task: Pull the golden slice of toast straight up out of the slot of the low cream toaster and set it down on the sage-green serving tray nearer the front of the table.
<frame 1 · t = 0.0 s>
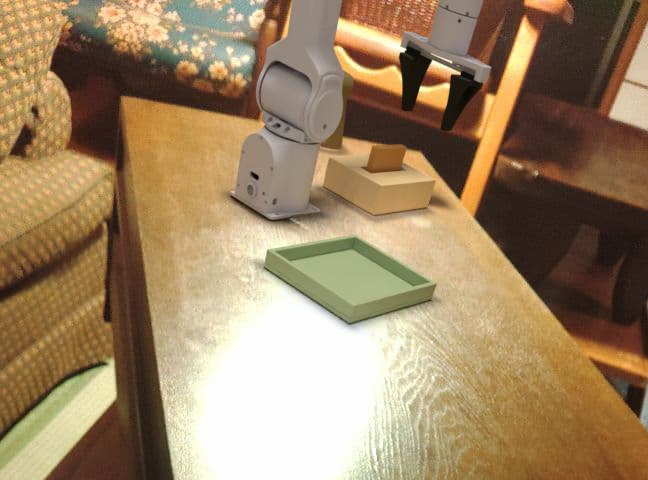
hand: (425, 120, 110), 10 cm above the table, tool pointing down, fingers open, 7 cm apart
toaster: (375, 200, 109), on the table
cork: (323, 146, 123), on the table
toast: (376, 196, 109), resting on toaster
tray: (350, 283, 85), on the table
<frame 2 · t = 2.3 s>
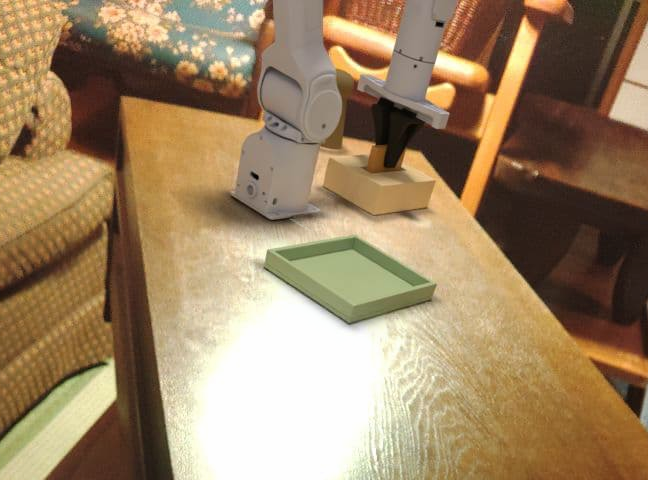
hand: (384, 164, 106), 5 cm above the table, tool pointing down, fingers closed on toast, 1 cm apart
toast: (376, 196, 109), point 1 cm above the table, touching gripper, toaster
everything else where it was.
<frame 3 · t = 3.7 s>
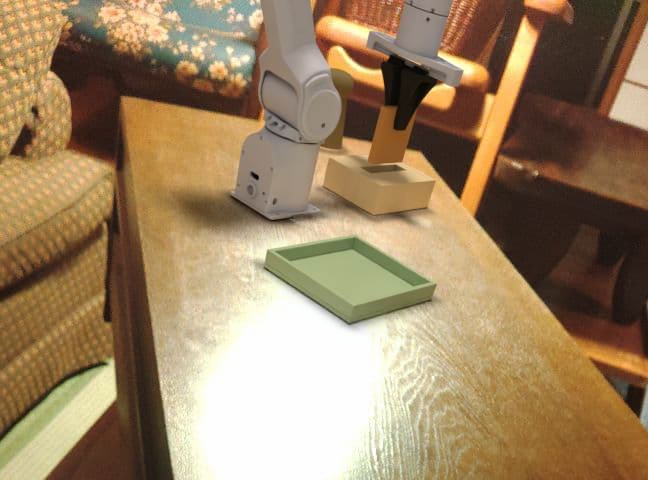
hand: (394, 127, 101), 10 cm above the table, tool pointing down, fingers closed on toast
toast: (385, 162, 104), point 6 cm above the table, touching gripper
everything else where it was.
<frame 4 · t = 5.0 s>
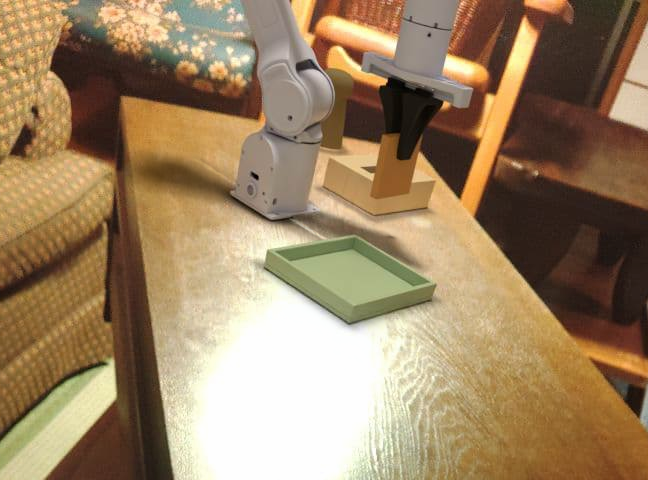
hand: (398, 156, 90), 10 cm above the table, tool pointing down, fingers closed on toast
toast: (389, 195, 93), point 6 cm above the table, touching gripper
everything else where it was.
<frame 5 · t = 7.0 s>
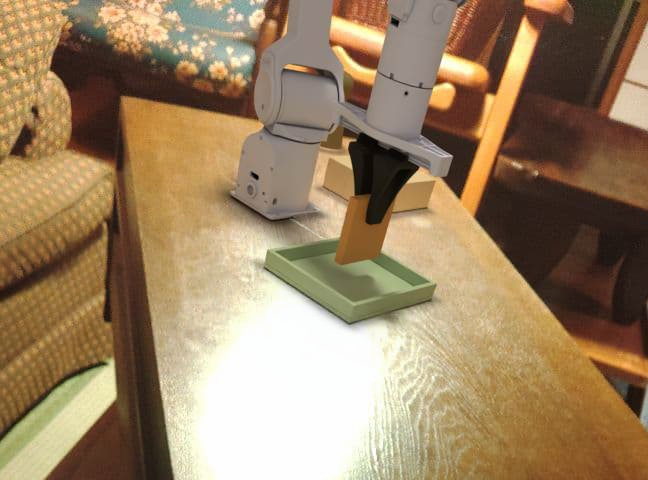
hand: (367, 219, 80), 7 cm above the table, tool pointing down, fingers closed on toast, 1 cm apart
toast: (357, 259, 83), point 3 cm above the table, touching gripper
everything else where it was.
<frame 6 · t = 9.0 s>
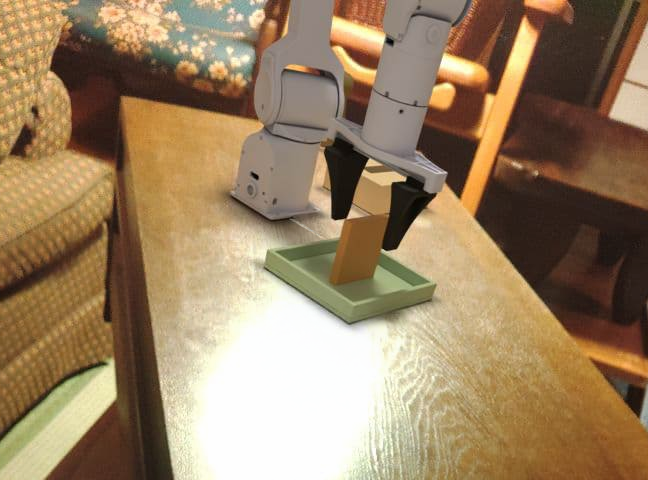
hand: (363, 233, 81), 6 cm above the table, tool pointing down, fingers open, 7 cm apart
toast: (351, 279, 85), resting on tray
everything else where it was.
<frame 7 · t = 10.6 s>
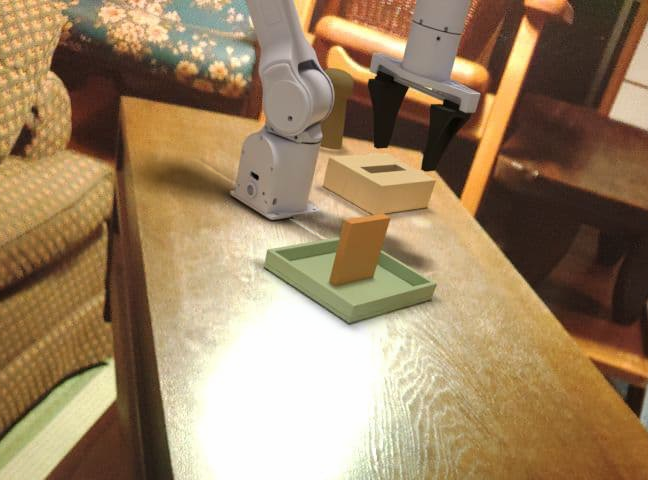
hand: (403, 158, 90), 10 cm above the table, tool pointing down, fingers open, 7 cm apart
nothing on the table moved.
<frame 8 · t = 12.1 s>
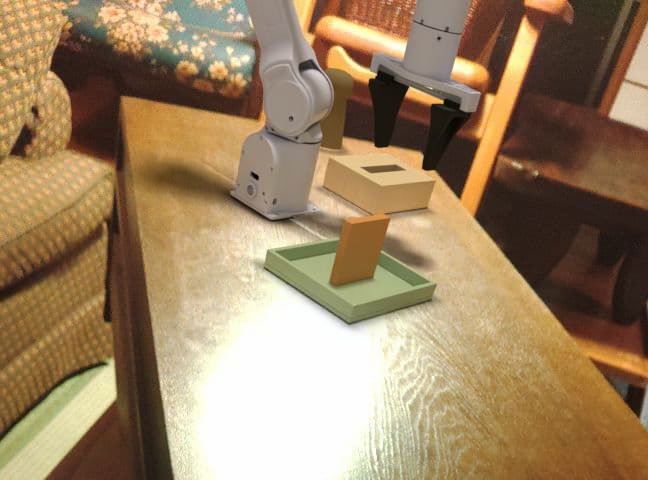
hand: (404, 158, 90), 10 cm above the table, tool pointing down, fingers open, 7 cm apart
nothing on the table moved.
at the end: toast inside the target area in the tray (0.1 cm from its centre), point 0.5 cm above the tray's base; the gripper is holding nothing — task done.
